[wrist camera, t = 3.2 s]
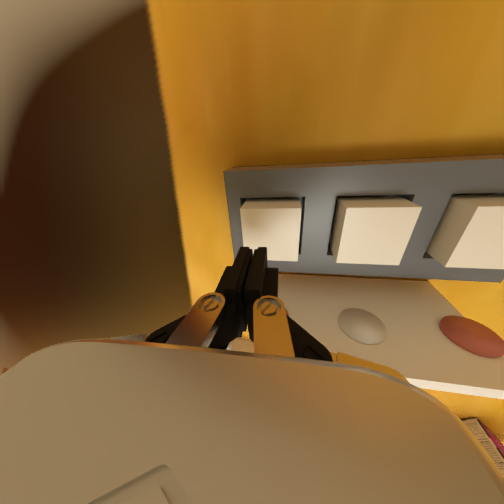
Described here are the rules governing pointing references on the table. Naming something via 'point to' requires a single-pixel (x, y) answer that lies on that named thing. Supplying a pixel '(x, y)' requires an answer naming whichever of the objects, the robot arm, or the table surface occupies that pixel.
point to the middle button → (372, 229)
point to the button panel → (383, 268)
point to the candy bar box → (487, 441)
